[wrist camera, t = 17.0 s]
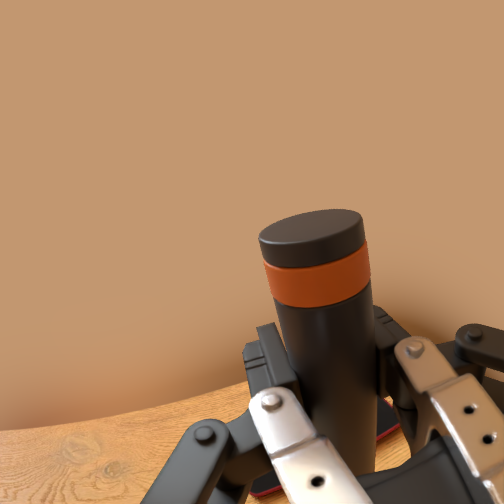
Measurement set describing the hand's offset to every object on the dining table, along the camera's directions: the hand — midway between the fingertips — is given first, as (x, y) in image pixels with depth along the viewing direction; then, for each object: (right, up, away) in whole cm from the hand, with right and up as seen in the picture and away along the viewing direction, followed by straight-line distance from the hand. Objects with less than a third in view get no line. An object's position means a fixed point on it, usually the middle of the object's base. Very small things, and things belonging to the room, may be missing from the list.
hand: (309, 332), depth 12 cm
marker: (+2, -7, -1) cm, 8 cm away
